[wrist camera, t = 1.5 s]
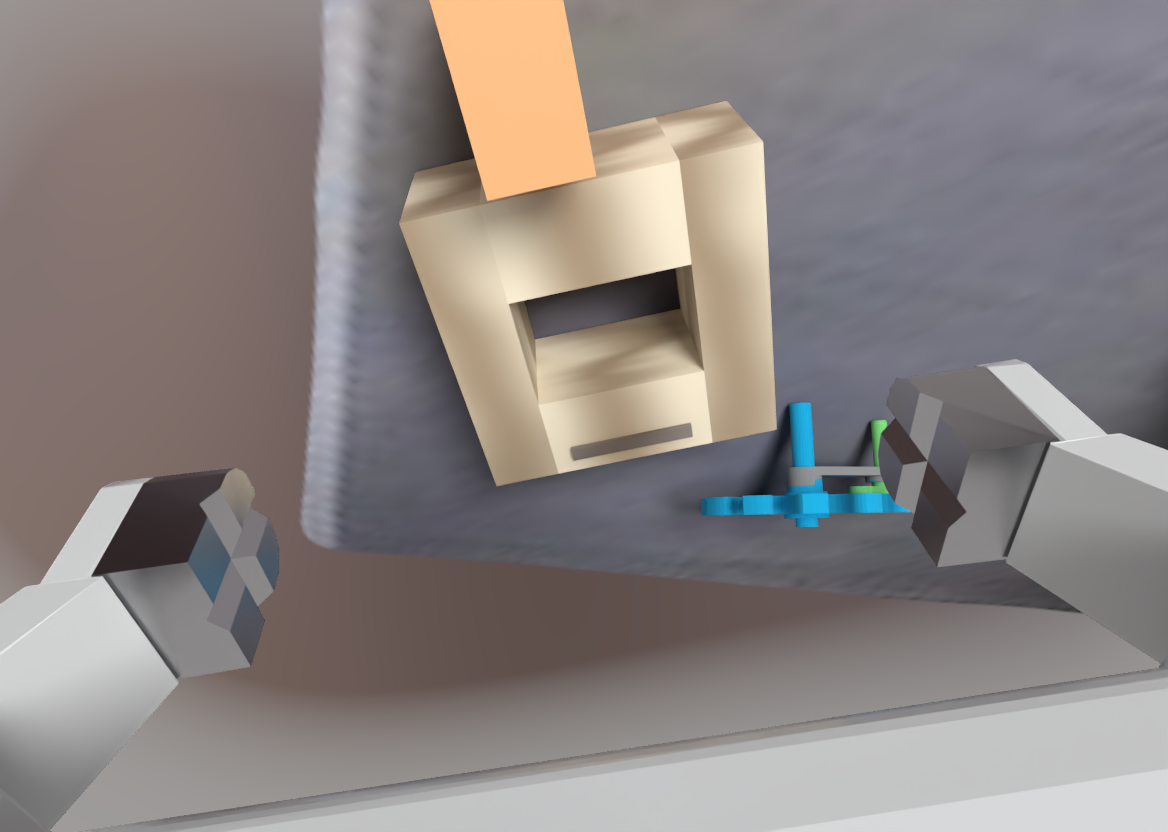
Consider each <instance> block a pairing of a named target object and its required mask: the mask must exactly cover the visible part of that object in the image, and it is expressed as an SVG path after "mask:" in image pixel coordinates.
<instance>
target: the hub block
mask: <svg viewBox="0 0 1168 832" xmlns="http://www.w3.org/2000/svg"><path fill="white" fill-rule="evenodd" d="M588 134H589V139H590V145H591V150H592V155H593V161H594V166H595V171H596V177H591V178H587V179H582V180H578V181H574V182H569V183H565V184H560V185H556V186H551V187H547V188H543V189H538V190H534V191H529V192H525V193H520V194H516V195H511V196H507V197H503V198H498V199H494V200H489V201H487V198H486V195H485V191H484V188H483V184H482V181H481V177H480V174H479V170H478V167H477V163H476V160H475V158H474V159H470V160H465V161H461V162H457V163H452V164H448V165H444V166H439V167H435V168H430V169H426V170H422V171H417V172H415V174H414V177H413V180H412V184H411V187H410V190H409V193H408V196H407V200H406V203H405V206H404V209H403V212H402V216H401V219H400V222H399V225H400V227H401V230H402V233H403V235H404V238H405V241H406V243H407V246H408V249H409V251H410V254H411V257H412V260H413V262H414V265H415V268H416V270H417V273H418V276H419V278H420V281H421V284H422V286H423V289H424V292H425V295H426V297H427V300H428V303H429V305H430V308H431V311H432V313H433V316H434V319H435V321H436V324H437V327H438V330H439V332H440V335H441V338H442V340H443V343H444V346H445V348H446V351H447V354H448V356H449V359H450V362H451V365H452V367H453V370H454V373H455V375H456V378H457V381H458V383H459V386H460V389H461V391H462V394H463V397H464V399H465V402H466V405H467V408H468V410H469V413H470V416H471V418H472V421H473V424H474V426H475V429H476V432H477V434H478V437H479V440H480V443H481V445H482V448H483V451H484V453H485V456H486V459H487V461H488V464H489V467H490V469H491V472H492V475H493V478H494V480H495V483H496V486H500V485H505V484H510V483H515V482H520V481H525V480H530V479H535V478H540V477H545V476H550V475H555V474H560V473H565V472H569V471H574V470H579V469H584V468H589V467H594V466H599V465H604V464H609V463H614V462H619V461H624V460H629V459H634V458H639V457H644V456H649V455H654V454H659V453H663V452H668V451H673V450H678V449H683V448H688V447H693V446H698V445H703V444H708V443H713V442H718V441H723V440H728V439H733V438H738V437H743V436H748V435H753V434H757V433H762V432H767V431H772V430H777V427H776V405H775V384H774V363H773V342H772V321H771V300H770V278H769V257H768V236H767V215H766V194H765V172H764V151H763V141H762V140H761V139H760V138H759V137H758V135H757V134H756V133H755V132H754V131H753V130H752V129H751V128H750V127H749V125H748V124H747V123H746V122H745V121H744V120H743V119H742V118H741V117H740V115H739V114H738V113H737V112H736V111H735V110H734V109H733V108H732V107H731V105H730V104H729V103H728V102H727V101H724V102H719V103H715V104H711V105H706V106H702V107H697V108H693V109H689V110H684V111H680V112H676V113H671V114H667V115H662V116H658V117H654V118H649V119H645V120H641V121H636V122H632V123H627V124H623V125H619V126H614V127H610V128H606V129H601V130H597V131H592V132H588ZM673 268H675V270H676V278H677V285H678V293H679V300H680V308H681V309H676V310H671V311H666V312H662V313H657V314H652V315H648V316H643V317H638V318H634V319H629V320H624V321H620V322H615V323H610V324H605V325H601V326H596V327H591V328H587V329H582V330H577V331H573V332H568V333H563V334H558V335H554V336H549V337H544V338H540V339H535V337H534V333H533V330H532V326H531V323H530V319H529V316H528V312H527V308H526V305H525V300H529V299H534V298H538V297H543V296H548V295H552V294H557V293H562V292H566V291H571V290H575V289H580V288H585V287H589V286H594V285H599V284H603V283H608V282H612V281H617V280H622V279H626V278H631V277H636V276H640V275H645V274H649V273H654V272H659V271H663V270H668V269H673Z"/></svg>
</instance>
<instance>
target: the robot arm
mask: <svg viewBox="0 0 1168 832" xmlns="http://www.w3.org/2000/svg"><path fill="white" fill-rule="evenodd" d="M887 407H888V408H889V410H890V411H891V412H892V414H893V415H894V416H895V419H894V420H893V421H892V422H891V423H890V424H889V425H888V426H887V427H886V428H885V429H884V430H883V431H882V433H881V436H880V442H879V449H878V459H879V467H880V474H881V477H882V480H883V482H884V485H885V487H886V490H887V491H888V493H889V494H890V496H891V498H892V499H893V501H894V502H895V503H896V504H898V505H900V506H901V507H903V508H905V509H907V510H909V511H911V512H913V513H915V514H914V518H913V522H912V526H911V529H912V530H913V532H914V533H915V535H916V536H917V538H918V539H919V541H920V542H921V544H922V545H923V547H924V548H925V550H926V551H927V553H928V554H929V556H930V557H931V559H932V560H933V562H934V563H935V565H936V566H937V567H943V566H951V565H960V564H968V563H977V562H985V561H994V560H1002V559H1007V560H1006V563H1007V564H1009V565H1010V566H1012V567H1014V568H1015V569H1017V570H1018V571H1020V572H1021V573H1023V574H1024V575H1026V576H1027V577H1029V578H1030V579H1032V580H1033V581H1035V582H1037V583H1038V584H1040V585H1041V586H1043V587H1044V588H1046V589H1047V590H1049V591H1050V592H1052V593H1053V594H1055V595H1056V596H1058V597H1060V598H1061V599H1063V600H1064V601H1066V602H1067V603H1069V604H1070V605H1072V606H1073V607H1075V608H1076V609H1078V610H1079V611H1081V612H1083V613H1084V614H1086V615H1087V616H1089V617H1090V618H1092V619H1093V620H1095V621H1096V622H1098V623H1099V624H1101V625H1102V626H1104V627H1106V628H1107V629H1109V630H1110V631H1112V632H1113V633H1115V634H1116V635H1118V636H1119V637H1121V638H1122V639H1124V640H1125V641H1127V642H1129V643H1130V644H1132V645H1133V646H1135V647H1136V648H1138V649H1139V650H1141V651H1142V652H1144V653H1146V654H1147V655H1148V656H1150V657H1151V658H1153V659H1155V660H1156V661H1158V662H1159V663H1161V665H1160V666H1159V668H1156V669H1149V670H1143V671H1137V672H1130V673H1123V674H1117V675H1110V676H1103V677H1096V678H1090V679H1083V680H1077V681H1070V682H1064V683H1057V684H1051V685H1044V686H1037V687H1030V688H1023V689H1017V690H1010V691H1004V692H998V693H991V694H984V695H977V696H971V697H965V698H958V699H952V700H945V701H939V702H932V703H925V704H919V705H912V706H905V707H899V708H892V709H886V710H880V711H873V712H866V713H860V714H853V715H847V716H840V717H833V718H827V719H821V720H814V721H807V722H801V723H794V724H788V725H781V726H775V727H768V728H761V729H755V730H748V731H742V732H735V733H729V734H722V735H716V736H709V737H702V738H695V739H689V740H682V741H676V742H669V743H662V744H655V745H649V746H642V747H636V748H629V749H623V750H615V751H609V752H602V753H596V754H589V755H582V756H575V757H569V758H562V759H556V760H549V761H543V762H536V763H529V764H522V765H516V766H509V767H502V768H496V769H489V770H482V771H476V772H470V773H462V774H456V775H449V776H443V777H436V778H430V779H422V780H416V781H409V782H403V783H397V784H389V785H383V786H376V787H370V788H363V789H356V790H350V791H343V792H336V793H330V794H324V795H317V796H310V797H304V798H297V799H290V800H284V801H277V802H270V803H264V804H257V805H250V806H245V807H237V808H231V809H224V810H217V811H211V812H205V813H198V814H191V815H184V816H178V817H171V818H165V819H158V820H151V821H145V822H138V823H131V824H125V825H119V826H112V827H105V828H99V829H92V830H85V831H79V832H1168V450H1166V449H1163V448H1160V447H1157V446H1154V445H1152V444H1149V443H1146V442H1143V441H1141V440H1138V439H1135V438H1132V437H1130V436H1127V435H1124V434H1121V433H1119V434H1111V435H1107V434H1106V433H1105V432H1104V431H1103V430H1102V429H1101V428H1099V427H1098V426H1097V425H1096V424H1095V423H1094V422H1093V421H1092V420H1090V419H1089V418H1088V417H1087V416H1086V415H1085V414H1084V413H1083V412H1081V411H1080V410H1079V409H1078V408H1077V407H1076V406H1075V405H1074V404H1072V403H1071V402H1070V401H1069V400H1068V399H1067V398H1066V397H1065V396H1063V395H1062V394H1061V393H1060V392H1059V391H1058V390H1057V389H1056V388H1055V387H1053V386H1052V385H1051V384H1050V383H1049V382H1048V381H1047V380H1046V379H1044V378H1043V377H1042V376H1041V375H1040V374H1039V373H1038V372H1037V371H1035V370H1034V369H1033V368H1032V367H1031V366H1030V365H1029V364H1028V363H1025V362H1022V361H1019V360H1016V359H1013V360H1007V361H1001V362H995V363H989V364H983V365H977V366H975V367H973V368H966V369H959V370H952V371H944V372H937V373H930V374H923V375H916V376H909V377H902V378H896V379H895V381H894V383H893V384H892V386H891V388H890V391H889V395H888V400H887ZM254 495H255V490H254V488H253V486H252V485H251V483H250V481H249V479H248V477H247V475H246V473H245V472H244V471H241V470H239V469H237V468H228V469H219V470H210V471H202V472H193V473H184V474H176V475H167V476H158V477H154V478H144V479H136V480H129V481H120V482H113V483H111V484H109V485H107V486H105V487H103V488H101V490H100V491H99V492H98V494H97V496H96V497H95V499H94V500H93V502H92V503H91V505H90V506H89V508H88V510H87V511H86V513H85V514H84V516H83V517H82V519H81V521H80V522H79V524H78V525H77V527H76V528H75V530H74V531H73V533H72V535H71V536H70V538H69V540H68V541H67V542H66V544H65V546H64V547H63V549H62V550H61V552H60V553H59V555H58V557H57V558H56V560H55V561H54V563H53V565H52V566H51V567H50V569H49V571H48V572H47V574H46V575H45V577H44V579H43V580H42V582H41V583H40V585H34V586H28V587H24V588H23V589H21V590H20V591H19V592H17V593H16V594H14V595H13V596H12V597H10V598H9V599H8V600H6V601H4V602H3V603H2V604H0V832H51V831H50V830H51V829H52V827H53V826H54V825H55V824H56V823H57V822H58V821H59V819H60V818H61V817H62V816H63V815H64V813H66V811H67V810H68V809H69V808H70V807H71V806H72V805H73V803H74V802H75V801H76V800H77V799H78V798H79V797H80V795H81V794H82V793H83V792H84V791H85V790H86V789H87V787H88V786H89V785H90V784H91V783H92V782H93V780H94V779H95V778H96V777H97V776H98V775H99V774H100V773H101V771H102V770H103V769H104V768H105V767H106V766H107V764H109V762H110V761H111V760H112V759H113V758H114V757H115V756H116V754H117V753H118V752H119V751H120V750H121V749H122V748H123V746H124V745H125V744H126V743H127V742H128V741H129V740H130V738H131V737H132V736H133V735H134V734H135V733H136V731H137V730H138V729H139V728H140V727H141V726H142V725H143V724H144V722H145V721H146V720H147V719H148V718H149V717H150V716H151V714H152V713H153V712H154V711H155V710H156V709H157V708H158V706H159V705H160V704H161V703H162V702H163V701H164V700H165V698H166V697H167V696H168V695H169V694H170V693H171V692H172V690H173V689H174V688H175V687H176V686H177V685H178V684H179V681H178V680H177V679H182V678H188V677H194V676H199V675H206V674H211V673H217V672H223V671H229V670H235V669H240V668H246V667H251V665H252V662H253V658H254V655H255V652H256V648H257V645H258V642H259V639H260V635H261V632H262V629H263V625H264V622H265V619H264V618H263V616H262V614H261V612H260V610H259V608H258V606H259V605H260V604H261V603H262V602H263V601H264V600H265V599H266V598H267V597H268V596H269V595H270V594H271V593H272V592H273V591H274V588H275V584H276V581H277V577H278V574H279V547H278V543H277V539H276V535H275V532H274V529H273V527H272V525H271V523H270V521H269V519H268V518H267V517H266V516H264V515H262V514H261V513H259V512H257V511H256V510H254V509H252V508H251V507H250V506H251V503H252V500H253V497H254Z"/></svg>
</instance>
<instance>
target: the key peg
mask: <svg viewBox="0 0 1168 832" xmlns="http://www.w3.org/2000/svg"><path fill="white" fill-rule="evenodd" d="M430 4H431V7H432V11H433V14H434V17H435V21H436V24H437V28H438V31H439V35H440V38H441V42H442V45H443V49H444V52H445V56H446V59H447V63H448V66H449V70H450V73H451V77H452V80H453V83H454V87H455V90H456V94H457V97H458V101H459V104H460V108H461V111H462V115H463V118H464V122H465V125H466V129H467V132H468V136H469V139H470V142H471V146H472V149H473V153H474V156H475V160H476V163H477V167H478V170H479V174H480V177H481V181H482V184H483V188H484V191H485V195H486V198H487V201H489V200H494V199H498V198H503V197H507V196H511V195H516V194H520V193H525V192H529V191H534V190H538V189H543V188H547V187H551V186H556V185H560V184H565V183H569V182H574V181H578V180H582V179H587V178H591V177H596V171H595V166H594V161H593V155H592V150H591V145H590V139H589V134H588V129H587V124H586V118H585V113H584V108H583V103H582V97H581V92H580V87H579V81H578V76H577V71H576V66H575V60H574V55H573V50H572V45H571V39H570V34H569V29H568V23H567V18H566V13H565V8H564V2H563V0H430Z"/></svg>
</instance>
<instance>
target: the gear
mask: <svg viewBox="0 0 1168 832" xmlns="http://www.w3.org/2000/svg"><path fill="white" fill-rule="evenodd" d="M789 407H790V425H791V443H792V461H793V467H790V468H786V471H787V489H788V492H786V493H783V496H772V495H750V496H742V497H710V498H705V499H701V504H702V515H763V514H784V515H785V518H796V527H818V518H829V513H881V512H911V511H909V510H907V509H905V508H903V507H901V506H900V505H898V504H896V503H895V502H894V501H893V499H892V498H891V496H890V494H889V493H888V491H887V490H886V487H885V485H884V482H883V480H882V477H881V474H880V467H879V459H878V449H879V442H880V436H881V433H882V431H883V430H884V429H885V428H886V427H887V421H886V420H877V421H871V431H872V445H873V459H874V467H815V461H814V445H813V428H812V411H811V403H794V404H790V405H789ZM822 477H865V481H866V483H872V485H873V486H852V487H848V494H828V492H823V483H822Z"/></svg>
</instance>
